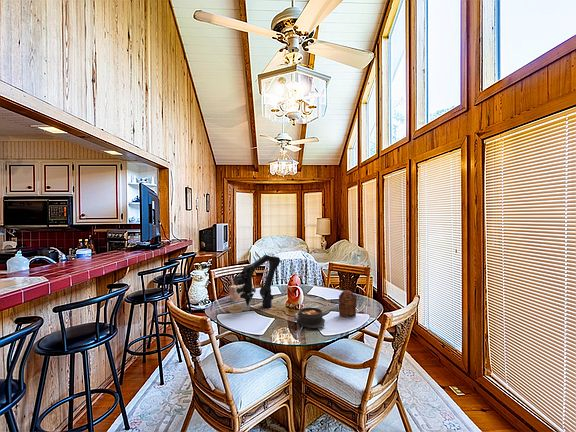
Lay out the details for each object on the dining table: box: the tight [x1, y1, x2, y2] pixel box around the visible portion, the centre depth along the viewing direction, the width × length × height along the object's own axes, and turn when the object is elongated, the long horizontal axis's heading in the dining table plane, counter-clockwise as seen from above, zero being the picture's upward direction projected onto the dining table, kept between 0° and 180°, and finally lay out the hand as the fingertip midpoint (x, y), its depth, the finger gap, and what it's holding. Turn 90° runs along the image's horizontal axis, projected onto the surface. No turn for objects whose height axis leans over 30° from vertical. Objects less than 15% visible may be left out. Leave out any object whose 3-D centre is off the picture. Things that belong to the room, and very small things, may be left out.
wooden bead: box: [228, 303, 244, 314], centre depth 230 cm, size 10×10×4 cm
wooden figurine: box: [338, 289, 357, 319], centre depth 216 cm, size 12×6×18 cm, turn 95°
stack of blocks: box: [228, 284, 254, 303], centre depth 262 cm, size 21×6×12 cm, turn 144°
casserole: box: [296, 307, 326, 329], centre depth 202 cm, size 25×19×8 cm
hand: (248, 304), depth 228 cm, fingers closed on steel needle, 3 cm apart
